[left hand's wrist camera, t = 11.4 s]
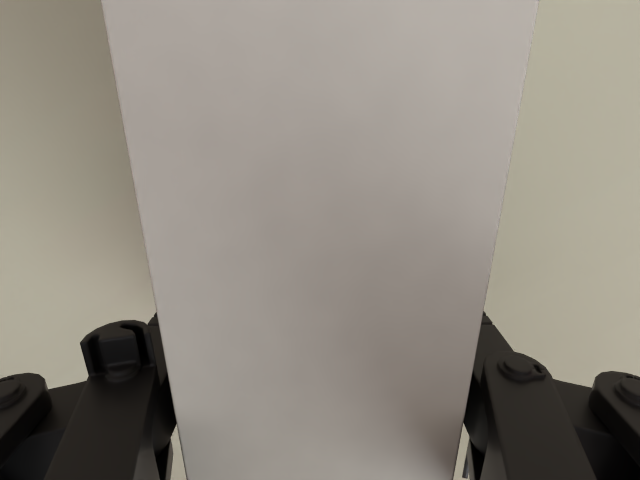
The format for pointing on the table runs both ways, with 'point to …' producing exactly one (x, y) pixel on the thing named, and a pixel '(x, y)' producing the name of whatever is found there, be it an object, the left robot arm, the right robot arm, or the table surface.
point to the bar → (319, 220)
